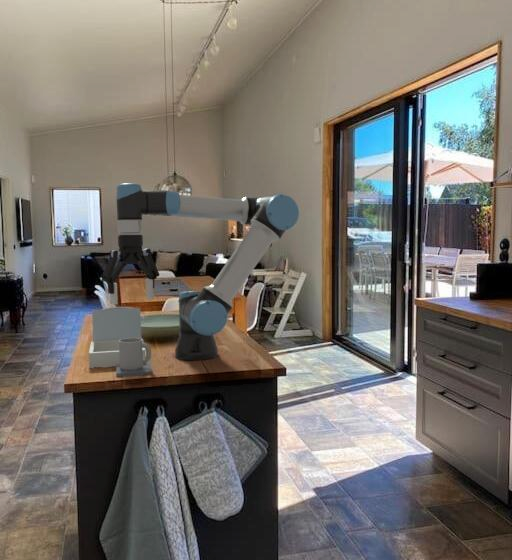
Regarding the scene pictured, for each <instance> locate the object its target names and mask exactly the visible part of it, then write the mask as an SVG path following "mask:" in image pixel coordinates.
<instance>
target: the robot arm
mask: <svg viewBox="0 0 512 560" xmlns="http://www.w3.org/2000/svg"><path fill="white" fill-rule="evenodd" d="M116 215H117V216H116V217H117V218H116V219H117V221H116V222H117V233H118V236H117V244H118V250H115V249H114V250H113V249H112V250H109V258H108V262H107V264H106V267H105V269H104V271H103V274H102V276H101V281H102V282H105V283H106V284H107V293H108V294H110V295H109V299H110V304H111V305H119V303H118V283H117V282H116V281H117V279H118V277H119V276H120V275H121V273H122V271H123V270H124V268H125V267H127V265H132V264H133V265H137V266H138V267H139V268H140V269H141V272H143V274H144V275H145V276H146V277H147V278H145V299H146V300H150V301H151V300H154V289H155V280H156V279H157V278H158V277H159V276H160V271H159V270H158V267H157V266H156V263H155V261H154V259H153V256H152V250H151V249H150V248H143V245H144V240H143V239H144V238H143V234H142V233H143V231H144V230H143V215H145V216H147V215H149V216H163V217H177V218H178V217H179V218H194V219H204V220H205V219H207V220H218V221H233V222H239V223H240V224H241V225H245V226H246V225H247V226H251V227H250V229H249V230H248V232H247V233H246V234H245V236H244V237H243V239H242V240H241V242H240V243H239V244H238V246H237V248H235V249H234V252H233V253H232V255H230V257H229V258H228V260H227V262H226V263H225V264H224V266H223V267H222V268H221V270H220V272H219V273H218V274H217V275H216V278H215V279H214V280H213V282H212V283H211V284H210V285H207V286H204V287H202V290H197V291H195V290H194V291H182V292H179V295H178V311H179V312H178V314H179V316H178V317H179V323H178V324H179V337H178V339H177V342H176V343H177V344H176V347H175V349H174V356H175V358H176V359H179V360H185V361H188V360H189V361H202V360H204V361H205V360H209V359H213V358H215V357H218V355H219V349H218V346H217V344H216V339H215V337H214V335H217V334H219V333H220V332H222V330H223V329H224V328H225V327H226V324H227V321H228V315H229V313H230V312H231V310H233V309H232V308H233V307H234V305H233V299H234V298H235V297H236V295H237V294H238V292H239V291H240V289H241V288H242V286H243V285H244V283H245V282H246V280H247V279H248V278H249V276H250V275H251V273H252V272H253V271H254V269H255V268H256V266H257V265H258V264H259V262H260V261H261V259H262V258H263V256H264V255H265V253H266V252H267V250H268V249H269V248H270V246H271V244H272V243H274V242H277V241H280V239H281V238H282V236H283V235H284V234H285V232H286V231H288V230H291V228H293V227H295V225H296V224H297V222H298V220H299V217H300V212H299V206H298V204H297V202H296V201H295V200H294V198H292V197H291V196H289V195H287V194H283V193H276V194H273V195H272V194H271V195H264V196H259V197H246V196H245V197H243V198H241V199H235V198H234V199H233V198H225V197H223V198H222V197H210V196H199V195H189V194H188V195H187V194H180V193H179V192H178V191H177V190H170V189H169V190H143V189H142V185H141V184H139V183H120V184H118V185H117V186H116ZM118 258H119V259H118Z"/></svg>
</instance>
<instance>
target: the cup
mask: <svg viewBox="0 0 512 560" xmlns="http://www.w3.org/2000/svg"><path fill="white" fill-rule="evenodd" d="M142 339H143V338H141V339H140V338H125V339H121V340H119V359H120V368H121V369H122V370H138V369H141V368H142V366H143V364H144V363H149V361H151V358H152V348H151V346H150V345H149V344H148V343H146V342H144V343H142ZM142 348H145V358H144V359H143V353H142Z"/></svg>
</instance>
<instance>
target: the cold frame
mask: <svg viewBox="0 0 512 560" xmlns="http://www.w3.org/2000/svg"><path fill="white" fill-rule="evenodd" d="M91 313H92V314H91V315H92V341H91V342H90V346H89V351H88V364H89V365H88V367H89V369H95V368H94V367H102V368H113V367H112V366H116V365H119V364H120V359H119V340H121V339H125V338H140V339H142V343H145V341H144V339H143V338H142V322H141V321H142V319H141V318H142V317H141V308H140V307H130V308H125V309H104V308H102V309H92V310H91ZM142 353H143V359H144V358H145V357H146V349H145V348H142Z"/></svg>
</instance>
